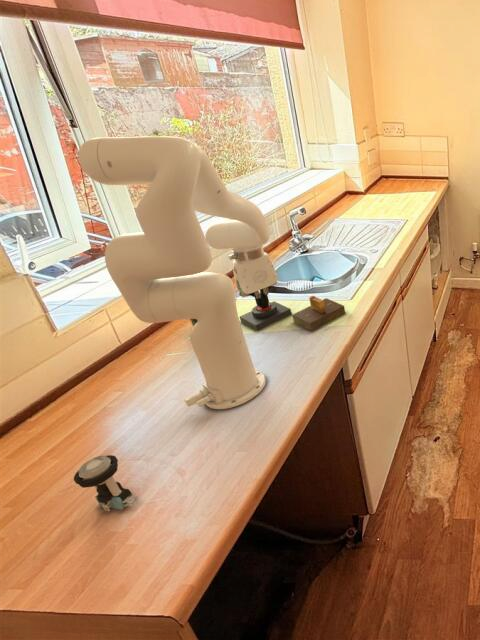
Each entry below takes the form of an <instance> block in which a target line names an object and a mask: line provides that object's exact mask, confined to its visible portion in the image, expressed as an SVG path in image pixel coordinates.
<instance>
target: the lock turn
mask: <svg viewBox="0 0 480 640" xmlns="http://www.w3.org/2000/svg"><path fill="white" fill-rule="evenodd" d="M323 300H324V299H321V298H319V297H316V296H315V295H311V296H309V303H310V306H311V308H312V309H314V310H316V311H318V312H320V313H323V312H325V306H324V301H323Z"/></svg>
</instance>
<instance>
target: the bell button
mask: <svg viewBox="0 0 480 640" xmlns="http://www.w3.org/2000/svg"><path fill="white" fill-rule="evenodd" d="M270 308H271V306H270V305H269V307H266V308H265V309H263V308H261V307H258V308H257V310H258V311H266V310H268V309H270Z"/></svg>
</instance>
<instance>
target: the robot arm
mask: <svg viewBox="0 0 480 640" xmlns="http://www.w3.org/2000/svg"><path fill="white" fill-rule="evenodd" d="M77 159H78V163H79V166H80V168H81V169H82V171H83V172H84V173H85V174H86V175H87V176H88V177H89V178H90V179H91V180H93V181H94V182H96V183H98V184H101V185H105V186H147V185H148V187H147V189H146V190H145V191H144V193H143V195H142V196H141V198H140V200H139V201H138V202H137V206H136V209H135V210H136V211H135V216H136V219H137V222H138V224H139V226H140V228H141V230H142V232H132V233H131V232H130V233H123V234H120V235H117V236H115V237H113V238H112V239H111V240H110V241H109V242H108V243H107V245H106V247H105V251H104V261H105V262H104V263H105V267H106V269H107V271H108V273H109V274H108V275H110V277H111V279H112V281H113V282H114V284H115V286H116V288H117V289H118V291H119V293H120V294H121V296H122V297H123V299H124V301H125V303H126V304H127V306H128V307H129V309H130V310H131V312H132V313H133V315H134V316H135V317H136V318H137V319H138V320H139V321H141V322H144V323H146V324H158V323H160V324H161V323H167V322H174V321H183V320H190V319H197V320H198V321H197V323H196V324H195V325H194V326H193V327H192V328H191V331H190V333H189V340H190V343H191V347H192V348H193V351H194V354H195V356H196V360H197V361H198V364H199V367H200V369H201V372H202V374H203V378H204V379H205V382H203V383H202V387H203V388H201V389H199V392H197V393H195V394H192V395H191V396H189V397H187V398H185V399H184V403H185V405H186V406H187V407H188V408H190V407H192V406H194V405H197V406H198V407H199V408H201V407H202V406H204V405H205V406H207V407H208V408H210V409H215V410H225V409H226V410H227V409H231V408H234V407H238V406H240V405H243V404H245V403H248V402H249V401H251V400H253V399H254V398H255V397H257V395H259V394H260V393H261V392H262V390H263V389H264V388H265V385H266V383H267V379H266V376H265V374H264V373H263V372H262V371H259V370H257V369H255V366H254V363H253V359H252V357H251V354H250V350H249V347H248V344H247V341H246V338H245V335H244V331H243V328H242V323H241V320H240V316H239V314H238V309H237V301H236V299H237V298H236V289H235V285H236V288H237V290H238V292H239V293H238V295H239V296H240V297H241V298H247V297H253V298H254V301H255V303H256V306H258V307H261V308H263V309H265V308H266V307H269V304H268V303H269V302H270V300H269V292H270V290H271V288H272V287H273V286H276V284H277V283H278V279H279V278H278V275H277V272H276V269H275V267H274V263H273V261H272V259H271V258H270V255H269V253H268V252H265V250H264V247H263V246H265V245H266V244H267V243H268V242H269V241H270V238H271V230H270V226H269V223H268V222H267V219H266V218H265V215H264V213H263V212H262V210H261V208H259V206H257V205H256V203H254V202H252V201H250V200H249V199H247V198H246V197H244V196H241V195H239V194H237V193H235V192H233V191H230V190H228V189H227V187H226V185H225V183H224V181H223V179H222V178H221V176H220V175H219V173H218V171H217V169H216V167H215V165H214V164H213V163H212V160H211V159H210V158H209V156H208V155H207V153H206V152H205V150H203V149H202V148H201V147H200V146H198V145H196V144H195V143H194V142H193V141H191V140H190V139H187V138H184V137H178V136H173V135H171V136H170V135H143V136H142V135H141V136H138V135H137V136H111V137H109V136H108V137H107V136H106V137H105V136H104V137H103V136H102V137H93V138H89V139H87V140H85V141H84V142H83V143H82V144H81V145H80V146H79V149H78V153H77ZM196 212H198V213H200V214H204V215H207V216H211V217H215V218H216V217H217V218H221V219H219V220H217V221H214V222H212V223H211V224H209V225H208V226H207V228H206V230H205V233H204V231H203V228H202V227H201V224H200V221H199V219H198V217H197V214H196ZM210 247H211V248H212V249H215V250H230V249H231V254H229V255H228V259H229V260H230V261H232V272H233V278H234V282H235V285H234V282H233V280H232V279H231V277H229V276H228V275H227V274H224V273H220V272H213V271H212V272H211V271H210V272H209V271H206V270H208V269H210V267H211V265H212V262H213V257H212V253H211V249H210Z"/></svg>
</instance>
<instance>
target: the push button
mask: <svg viewBox="0 0 480 640" xmlns="http://www.w3.org/2000/svg"><path fill="white" fill-rule="evenodd" d="M118 462H119V460H118V458H117V456H115V455H112V454H111V455H110V454H108V455H98V456H96V457H95V456H94V457H92V458H90V459H89V460H87V461H86V462H84V463H83V464H82V465H81V466H80V467H79V469H78V470H77V471H76V472H75V474H74V477H73V481H74V483H75V484H77V485H79V487H81V488H82V489H86V488H93V487H94V488H95V491H96V493H97V494H96V495H95V496H94V498H95V499H96V501H97V502H98V505H99V506H100V507H102V508H103V510H104V511H106V512H111V509H117V510H121V511H122V510H124V509H125V508H126V507H134V506H136V504H137V503H138V502H137V501H135V500H136V498H134V497H132V496H133V494H132V491H131V490H130V489H129V488H124V487H123V485H122V484H121V483H120V481H116V480H115V478H114V477H113V476H114V475H115V474H116V473H117V471H118V466H119V463H118Z"/></svg>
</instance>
